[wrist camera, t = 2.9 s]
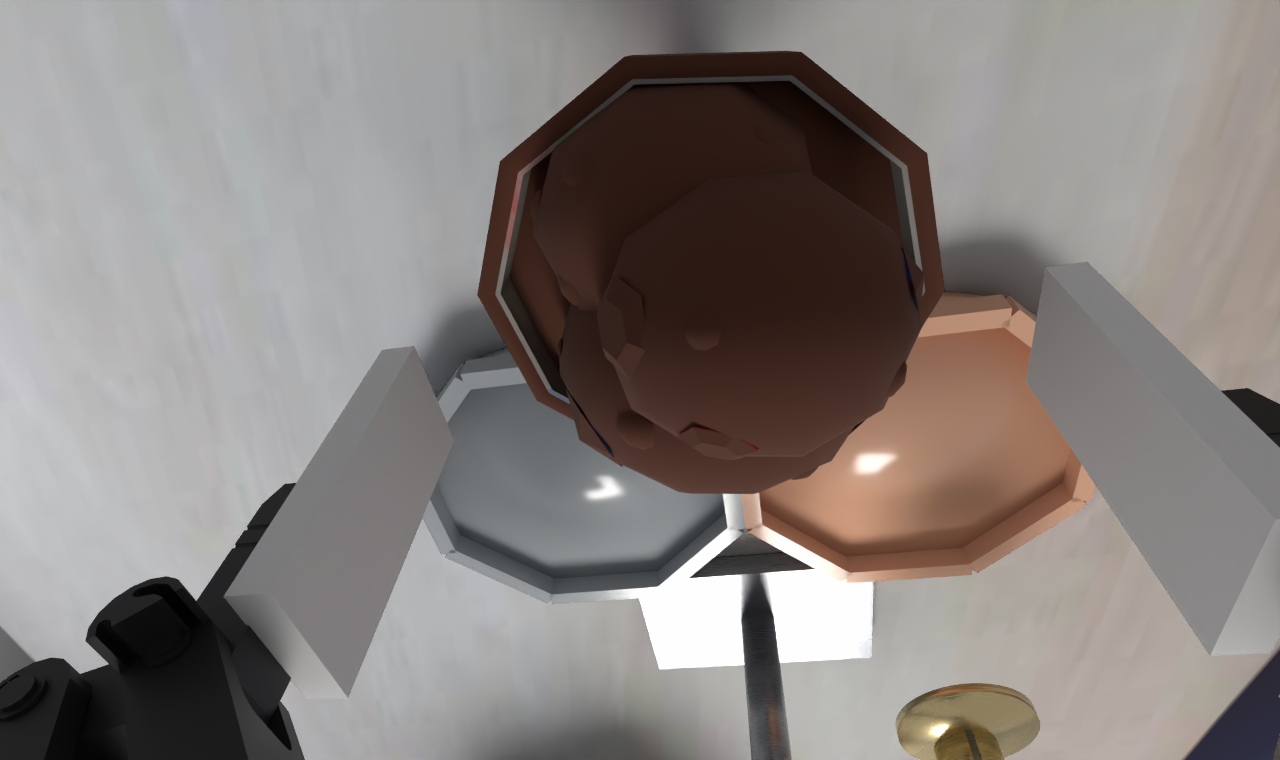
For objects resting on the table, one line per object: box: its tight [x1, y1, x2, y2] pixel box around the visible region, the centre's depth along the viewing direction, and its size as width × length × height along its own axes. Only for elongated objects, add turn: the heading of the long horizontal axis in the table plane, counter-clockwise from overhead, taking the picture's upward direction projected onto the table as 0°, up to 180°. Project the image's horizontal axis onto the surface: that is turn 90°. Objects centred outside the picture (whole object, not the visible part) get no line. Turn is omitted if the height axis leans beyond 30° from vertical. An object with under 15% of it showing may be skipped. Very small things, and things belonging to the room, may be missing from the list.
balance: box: [639, 553, 1040, 760], centre depth 32 cm, size 8×24×17 cm, turn 100°
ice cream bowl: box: [477, 51, 945, 494], centre depth 18 cm, size 11×11×15 cm
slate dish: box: [422, 348, 745, 604], centre depth 33 cm, size 15×15×2 cm
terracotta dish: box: [741, 292, 1096, 584], centre depth 31 cm, size 15×15×2 cm
